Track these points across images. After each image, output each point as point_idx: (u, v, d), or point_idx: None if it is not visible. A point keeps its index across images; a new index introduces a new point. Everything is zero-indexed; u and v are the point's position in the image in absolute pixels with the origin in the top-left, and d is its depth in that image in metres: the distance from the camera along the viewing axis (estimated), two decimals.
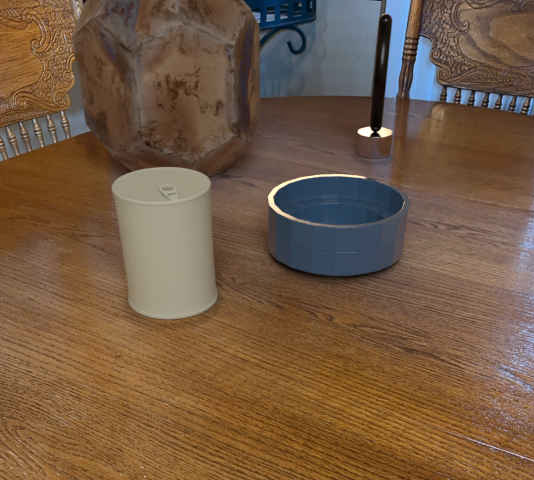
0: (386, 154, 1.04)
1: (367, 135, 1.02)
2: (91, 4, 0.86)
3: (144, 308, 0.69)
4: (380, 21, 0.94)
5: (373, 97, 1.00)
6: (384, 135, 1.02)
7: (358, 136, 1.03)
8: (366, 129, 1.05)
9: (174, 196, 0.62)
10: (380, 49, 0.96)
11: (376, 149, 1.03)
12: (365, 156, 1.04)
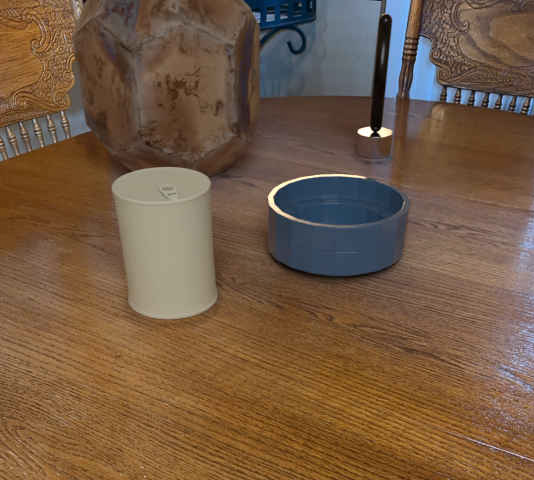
0: (386, 154, 1.04)
1: (367, 135, 1.02)
2: (91, 4, 0.86)
3: (144, 308, 0.69)
4: (380, 21, 0.94)
5: (373, 97, 1.00)
6: (384, 135, 1.02)
7: (358, 136, 1.03)
8: (366, 129, 1.05)
9: (174, 196, 0.62)
10: (380, 49, 0.96)
11: (376, 149, 1.03)
12: (365, 156, 1.04)
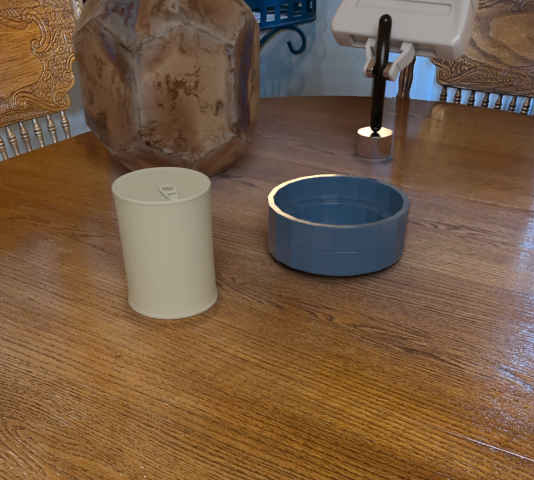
0: (386, 154, 1.04)
1: (367, 135, 1.02)
2: (91, 4, 0.86)
3: (144, 308, 0.69)
4: (380, 21, 0.94)
5: (373, 97, 1.00)
6: (384, 135, 1.02)
7: (358, 136, 1.03)
8: (366, 129, 1.05)
9: (174, 196, 0.62)
10: (380, 49, 0.96)
11: (376, 149, 1.03)
12: (365, 156, 1.04)
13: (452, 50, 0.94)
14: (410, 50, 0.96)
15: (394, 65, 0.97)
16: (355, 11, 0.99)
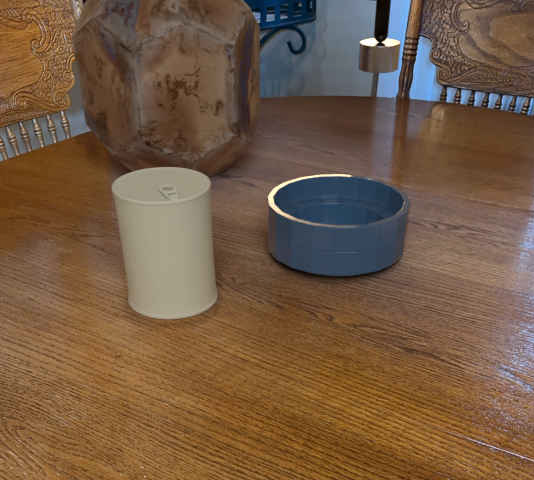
0: (393, 68, 0.91)
1: (370, 45, 0.89)
2: (91, 4, 0.86)
3: (144, 308, 0.69)
4: None
5: None
6: (391, 45, 0.89)
7: (361, 47, 0.90)
8: (370, 40, 0.91)
9: (174, 196, 0.62)
10: None
11: (381, 61, 0.90)
12: (369, 70, 0.91)
13: None
14: None
15: None
16: None
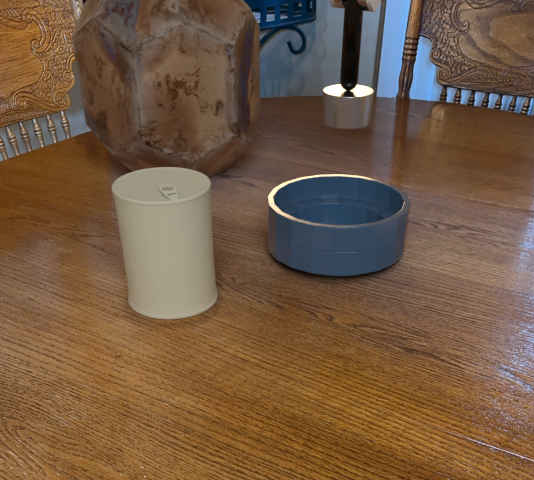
0: (364, 123, 0.72)
1: (335, 95, 0.70)
2: (91, 4, 0.86)
3: (144, 308, 0.69)
4: None
5: (344, 37, 0.68)
6: (361, 94, 0.70)
7: (324, 96, 0.71)
8: (336, 87, 0.72)
9: (174, 196, 0.62)
10: None
11: (349, 115, 0.71)
12: (334, 126, 0.72)
13: None
14: None
15: None
16: None
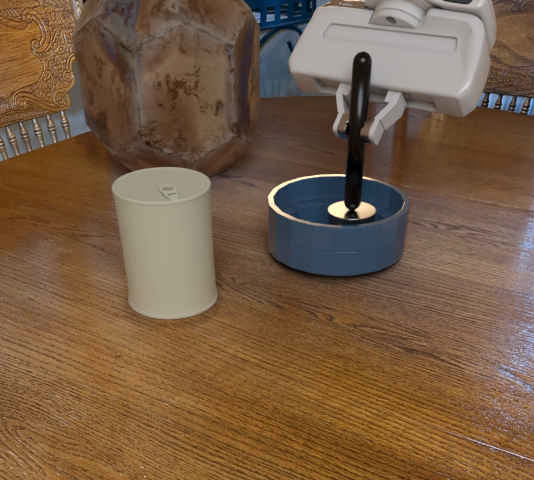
0: None
1: (340, 216, 0.74)
2: (91, 4, 0.86)
3: (144, 308, 0.69)
4: (354, 62, 0.65)
5: (347, 165, 0.72)
6: (364, 216, 0.74)
7: (329, 216, 0.75)
8: (340, 205, 0.76)
9: (174, 196, 0.62)
10: (355, 101, 0.67)
11: None
12: None
13: (458, 104, 0.65)
14: (399, 102, 0.67)
15: (376, 123, 0.68)
16: (322, 45, 0.71)
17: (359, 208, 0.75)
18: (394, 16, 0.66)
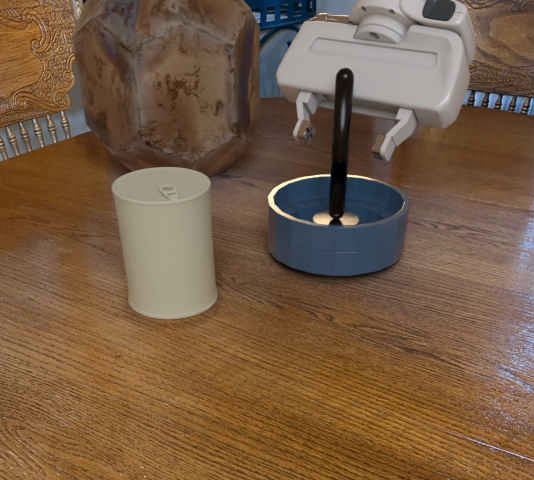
0: None
1: None
2: (91, 4, 0.86)
3: (144, 308, 0.69)
4: (337, 78, 0.68)
5: (331, 176, 0.74)
6: None
7: None
8: (325, 214, 0.78)
9: (174, 196, 0.62)
10: (338, 115, 0.70)
11: None
12: None
13: (438, 117, 0.67)
14: (410, 119, 0.69)
15: (388, 140, 0.69)
16: (308, 58, 0.73)
17: (343, 217, 0.78)
18: (377, 31, 0.69)
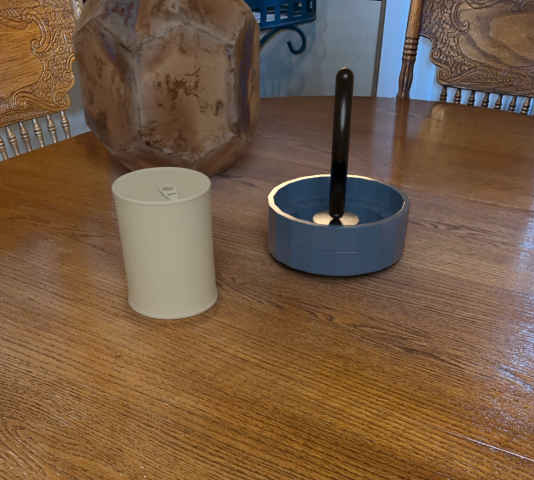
0: None
1: None
2: (91, 4, 0.86)
3: (144, 308, 0.69)
4: (337, 78, 0.68)
5: (331, 176, 0.74)
6: None
7: None
8: (325, 214, 0.78)
9: (174, 196, 0.62)
10: (338, 115, 0.70)
11: None
12: None
13: None
14: None
15: None
16: None
17: (343, 217, 0.78)
18: None
